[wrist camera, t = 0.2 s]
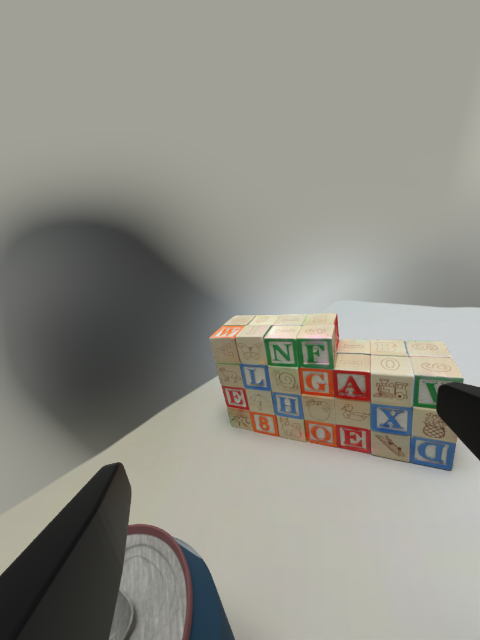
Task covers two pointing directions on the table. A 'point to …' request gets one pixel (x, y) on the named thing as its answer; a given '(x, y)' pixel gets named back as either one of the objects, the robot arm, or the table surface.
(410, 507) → the table surface
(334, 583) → the table surface
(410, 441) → the stack of blocks
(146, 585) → the soda can
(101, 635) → the robot arm
